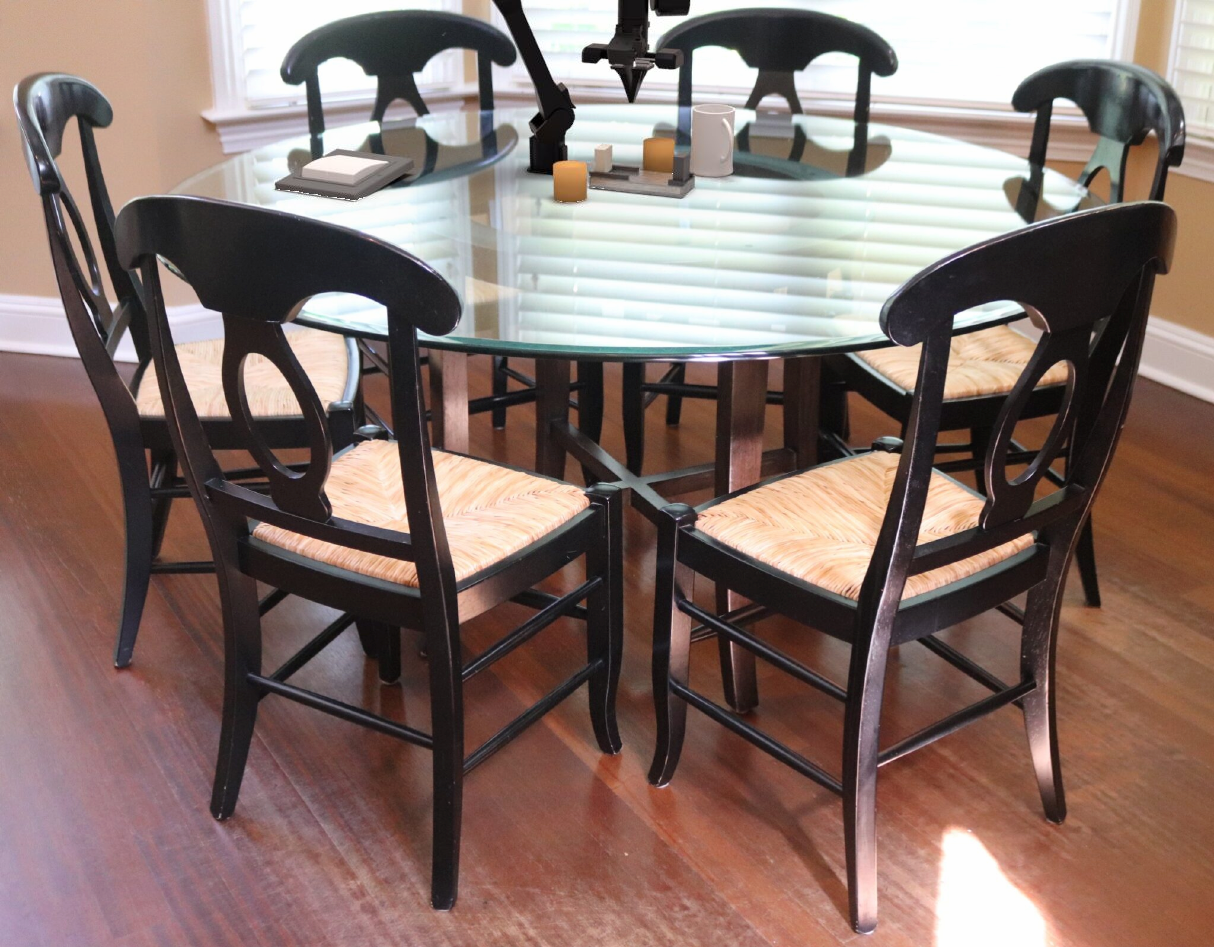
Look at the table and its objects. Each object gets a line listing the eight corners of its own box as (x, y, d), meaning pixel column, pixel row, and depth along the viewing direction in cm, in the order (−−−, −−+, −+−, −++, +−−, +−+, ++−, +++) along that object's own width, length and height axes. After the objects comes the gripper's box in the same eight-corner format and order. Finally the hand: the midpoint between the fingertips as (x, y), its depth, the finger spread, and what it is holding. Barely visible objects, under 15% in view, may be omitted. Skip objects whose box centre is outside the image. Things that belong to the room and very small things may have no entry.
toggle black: (672, 181, 227) (673, 156, 224) (679, 175, 230) (679, 151, 228) (683, 182, 226) (683, 157, 224) (689, 176, 229) (690, 152, 227)
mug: (747, 179, 236) (751, 115, 230) (705, 183, 234) (708, 119, 228) (722, 164, 246) (725, 102, 240) (682, 167, 243) (684, 105, 238)
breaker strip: (587, 188, 231) (587, 173, 229) (602, 176, 237) (602, 162, 236) (681, 198, 225) (682, 183, 224) (694, 186, 232) (695, 171, 231)
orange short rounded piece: (638, 174, 239) (639, 143, 236) (648, 167, 244) (649, 136, 241) (668, 178, 237) (669, 146, 234) (677, 170, 242) (678, 139, 239)
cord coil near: (548, 200, 224) (548, 167, 221) (561, 192, 229) (560, 159, 226) (579, 204, 222) (579, 171, 219) (591, 195, 227) (591, 162, 224)
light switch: (272, 173, 227) (335, 139, 242) (276, 198, 230) (339, 163, 245) (352, 185, 221) (412, 149, 236) (356, 211, 223) (415, 174, 238)
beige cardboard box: (594, 173, 231) (594, 149, 229) (602, 167, 234) (602, 143, 232) (604, 174, 230) (604, 150, 228) (612, 168, 234) (612, 144, 232)
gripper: (570, 21, 228) (571, 107, 235) (667, 27, 222) (665, 116, 230) (591, 12, 237) (591, 95, 244) (685, 18, 231) (682, 103, 239)
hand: (631, 102), depth 239 cm, fingers closed
